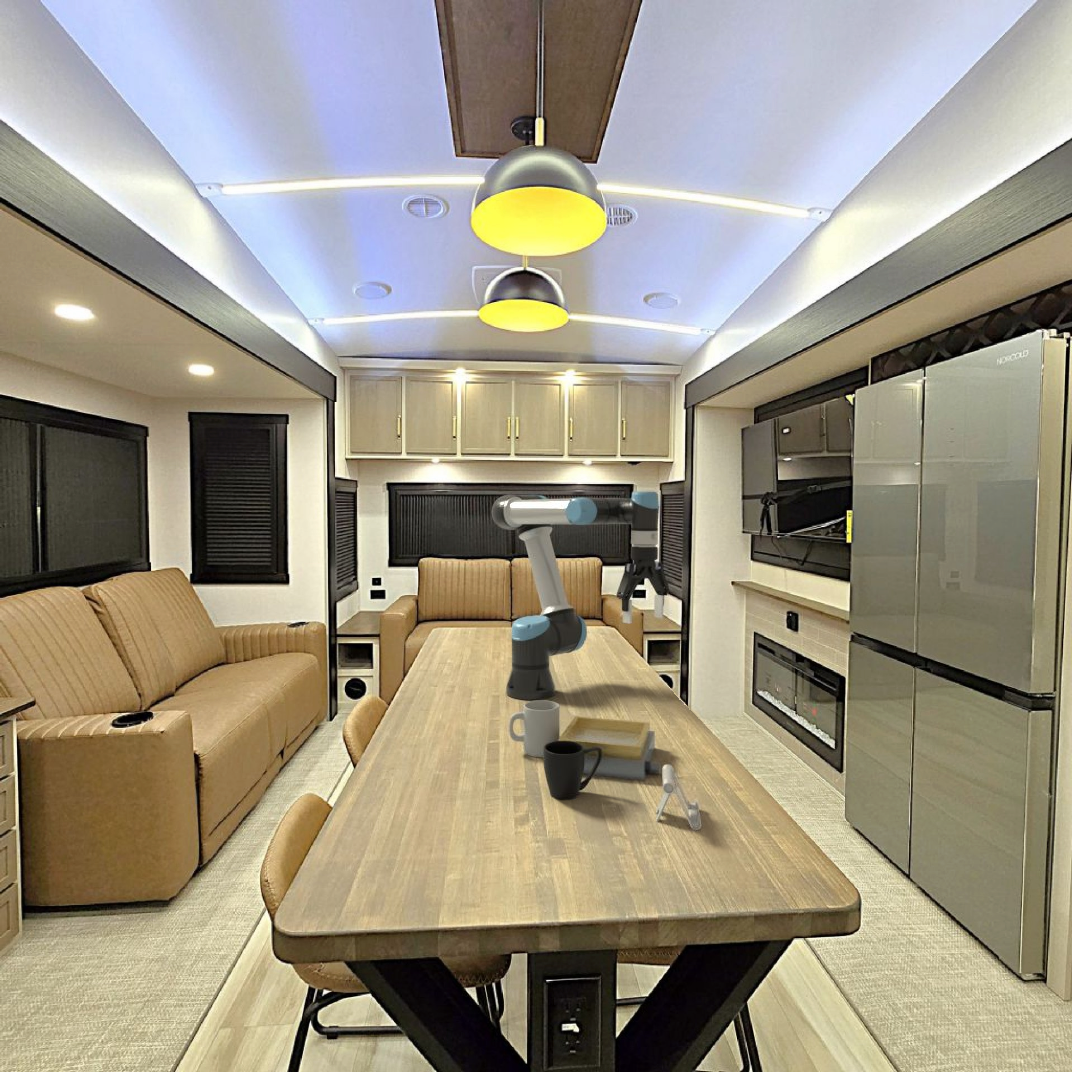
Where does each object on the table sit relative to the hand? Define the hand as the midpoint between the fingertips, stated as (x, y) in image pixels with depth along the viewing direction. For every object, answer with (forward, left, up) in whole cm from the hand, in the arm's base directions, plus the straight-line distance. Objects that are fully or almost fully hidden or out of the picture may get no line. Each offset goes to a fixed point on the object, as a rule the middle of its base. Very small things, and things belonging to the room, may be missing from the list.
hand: (643, 620), depth 189 cm
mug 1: (-20, -41, -26) cm, 52 cm away
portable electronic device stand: (+15, -66, -26) cm, 72 cm away
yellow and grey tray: (-2, -41, -25) cm, 48 cm away
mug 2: (-6, -61, -26) cm, 66 cm away
